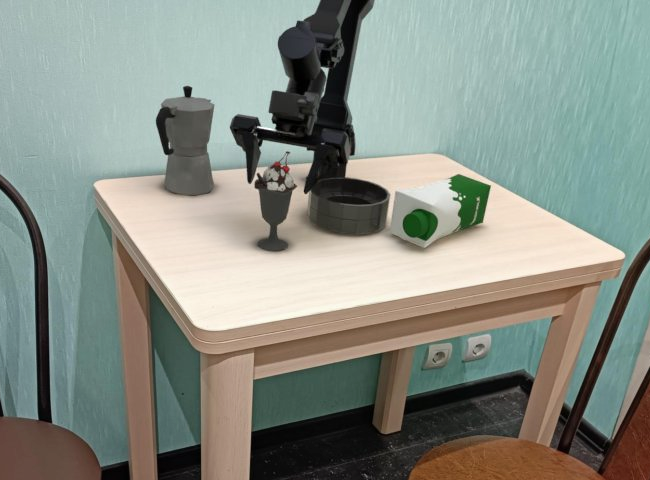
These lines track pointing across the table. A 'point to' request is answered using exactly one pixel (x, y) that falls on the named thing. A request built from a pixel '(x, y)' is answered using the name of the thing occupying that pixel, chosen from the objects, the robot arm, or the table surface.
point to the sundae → (275, 201)
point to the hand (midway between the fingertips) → (276, 187)
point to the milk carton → (438, 209)
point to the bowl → (348, 205)
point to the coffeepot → (186, 143)
